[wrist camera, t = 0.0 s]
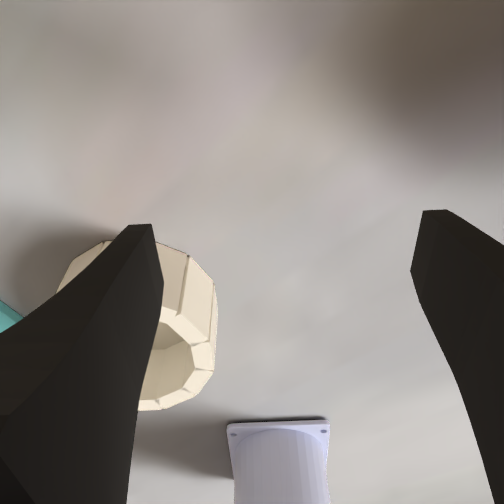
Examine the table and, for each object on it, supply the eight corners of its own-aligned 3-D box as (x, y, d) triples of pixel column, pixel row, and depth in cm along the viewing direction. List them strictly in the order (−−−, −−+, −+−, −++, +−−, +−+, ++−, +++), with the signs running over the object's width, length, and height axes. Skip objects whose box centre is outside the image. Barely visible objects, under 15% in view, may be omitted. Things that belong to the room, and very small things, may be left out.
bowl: (222, 347, 30) (219, 407, 26) (87, 353, 30) (66, 413, 26) (208, 236, 24) (202, 292, 21) (43, 244, 24) (8, 301, 21)
